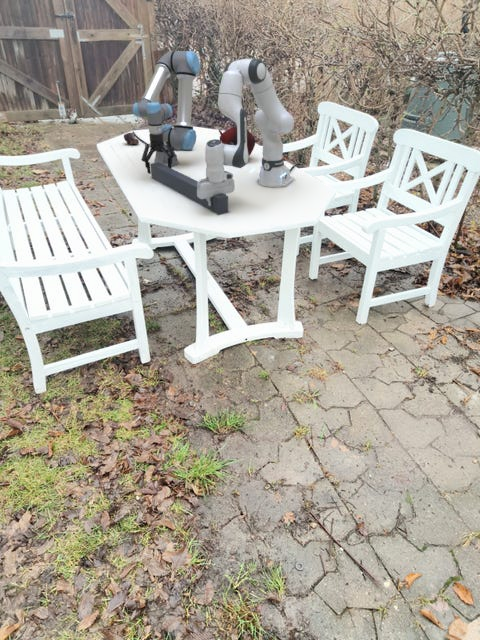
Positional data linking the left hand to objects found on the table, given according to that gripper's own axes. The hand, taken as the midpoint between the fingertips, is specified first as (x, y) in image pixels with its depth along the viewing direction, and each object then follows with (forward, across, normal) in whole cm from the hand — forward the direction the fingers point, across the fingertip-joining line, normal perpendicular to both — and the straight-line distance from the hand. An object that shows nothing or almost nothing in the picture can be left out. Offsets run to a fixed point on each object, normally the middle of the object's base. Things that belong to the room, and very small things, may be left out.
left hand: (159, 171), depth 264 cm
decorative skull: (+4, +62, +9) cm, 63 cm away
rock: (+4, +22, +91) cm, 93 cm away
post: (+5, 0, -30) cm, 31 cm away
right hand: (+3, 0, -61) cm, 61 cm away
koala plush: (+3, +46, +58) cm, 74 cm away
